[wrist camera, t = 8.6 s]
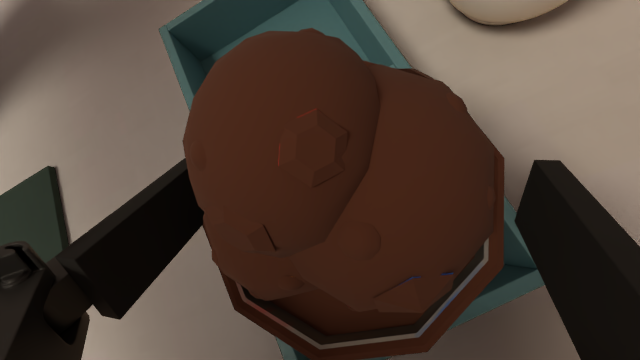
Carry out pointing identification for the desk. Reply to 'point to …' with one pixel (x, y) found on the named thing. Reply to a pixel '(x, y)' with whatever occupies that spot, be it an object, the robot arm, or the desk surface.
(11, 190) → the mat
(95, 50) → the desk surface
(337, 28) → the divided tray
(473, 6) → the trinket box
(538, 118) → the desk surface
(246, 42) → the ice cream bowl
